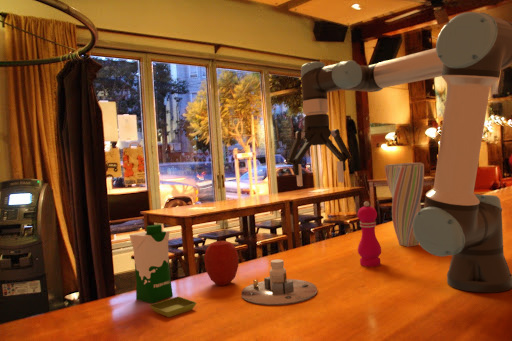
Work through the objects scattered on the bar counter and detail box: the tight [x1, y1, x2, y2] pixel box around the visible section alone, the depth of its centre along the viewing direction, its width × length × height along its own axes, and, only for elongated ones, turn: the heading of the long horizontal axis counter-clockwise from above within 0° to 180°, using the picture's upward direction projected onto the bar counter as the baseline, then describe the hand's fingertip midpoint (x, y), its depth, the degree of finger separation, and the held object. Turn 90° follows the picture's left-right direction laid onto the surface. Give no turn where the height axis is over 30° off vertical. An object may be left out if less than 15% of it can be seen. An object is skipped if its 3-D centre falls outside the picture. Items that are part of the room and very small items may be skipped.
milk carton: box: [129, 224, 174, 304], centre depth 123 cm, size 9×9×20 cm
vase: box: [384, 162, 425, 247], centre depth 167 cm, size 14×14×30 cm
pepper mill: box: [357, 201, 382, 268], centre depth 143 cm, size 7×7×20 cm
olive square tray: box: [149, 296, 197, 318], centre depth 112 cm, size 9×9×2 cm
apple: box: [203, 236, 239, 287], centre depth 132 cm, size 10×10×14 cm
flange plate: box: [241, 276, 318, 306], centre depth 120 cm, size 20×20×4 cm
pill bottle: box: [269, 258, 288, 290], centre depth 120 cm, size 4×4×8 cm
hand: (320, 184), depth 138 cm, fingers open, 13 cm apart
